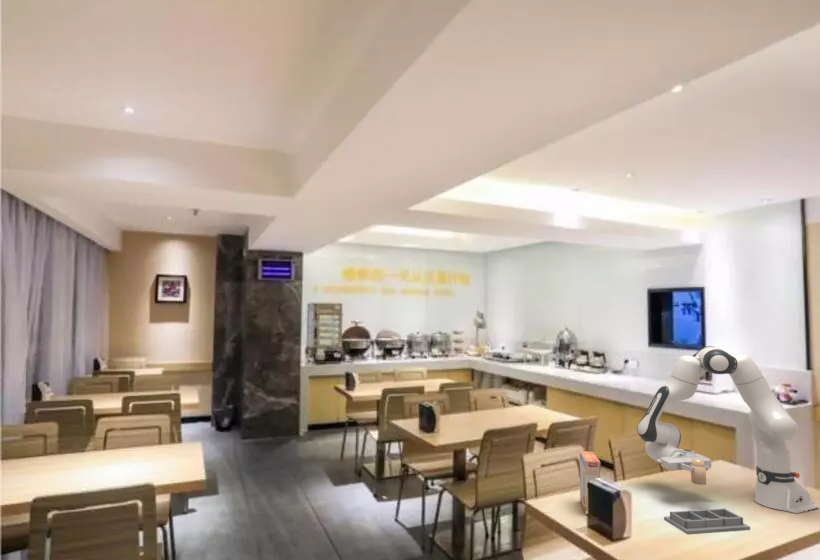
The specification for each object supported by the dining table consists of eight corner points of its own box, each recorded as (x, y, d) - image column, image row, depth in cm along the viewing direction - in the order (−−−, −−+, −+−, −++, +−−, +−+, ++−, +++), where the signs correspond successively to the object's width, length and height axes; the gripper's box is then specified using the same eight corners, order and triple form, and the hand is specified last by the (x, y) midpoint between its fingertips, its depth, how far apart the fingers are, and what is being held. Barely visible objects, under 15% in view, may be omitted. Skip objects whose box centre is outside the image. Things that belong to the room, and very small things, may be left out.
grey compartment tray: (723, 515, 185) (723, 506, 185) (750, 529, 173) (749, 519, 174) (664, 519, 181) (663, 510, 181) (687, 534, 169) (687, 524, 169)
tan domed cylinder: (699, 479, 195) (698, 456, 195) (709, 484, 190) (708, 459, 190) (688, 480, 194) (687, 456, 195) (697, 485, 189) (696, 460, 189)
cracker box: (601, 516, 182) (600, 461, 184) (585, 515, 184) (584, 460, 185) (595, 502, 196) (594, 451, 198) (579, 501, 197) (579, 450, 199)
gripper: (653, 452, 203) (676, 462, 190) (695, 450, 207) (721, 459, 193) (654, 467, 203) (677, 478, 189) (696, 464, 206) (722, 475, 193)
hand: (699, 469), depth 191 cm, fingers closed on tan domed cylinder, 5 cm apart
